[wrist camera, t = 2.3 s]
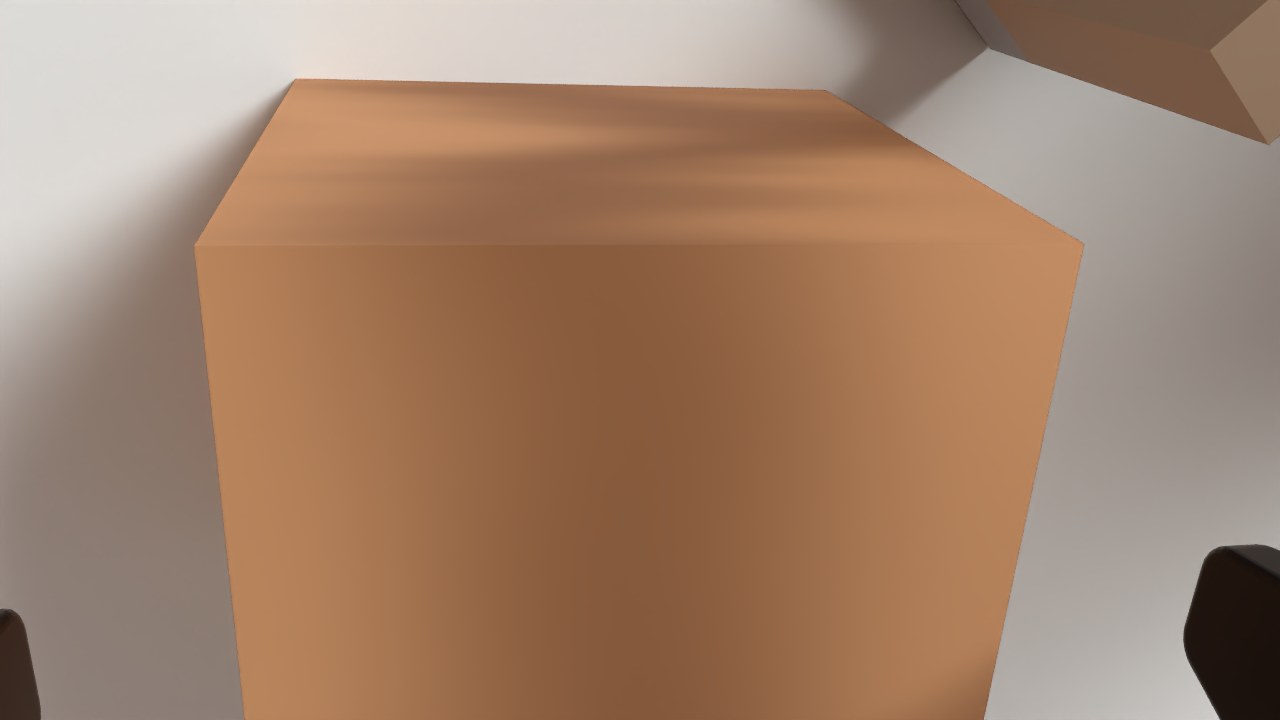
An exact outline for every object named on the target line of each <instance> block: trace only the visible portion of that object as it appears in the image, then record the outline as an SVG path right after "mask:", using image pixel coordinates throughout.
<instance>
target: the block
mask: <svg viewBox="0 0 1280 720" xmlns="http://www.w3.org/2000/svg"><path fill="white" fill-rule="evenodd" d="M1083 247H1084V244H1083V243H1082V242H1080V241H1078V240H1077V239H1075V238H1073V237H1072V236H1070V235H1068V234H1066V233H1065V232H1063V231H1061V230H1060V229H1058V228H1056V227H1055V226H1053V225H1051V224H1050V223H1048V222H1046V221H1045V220H1043V219H1041V218H1040V217H1038V216H1036V215H1035V214H1033V213H1031V212H1029V211H1028V210H1026V209H1024V208H1023V207H1021V206H1019V205H1018V204H1016V203H1014V202H1013V201H1011V200H1009V199H1008V198H1006V197H1004V196H1003V195H1001V194H999V193H997V192H996V191H994V190H992V189H991V188H989V187H987V186H986V185H984V184H982V183H981V182H979V181H977V180H976V179H974V178H972V177H971V176H969V175H967V174H966V173H964V172H962V171H960V170H959V169H957V168H955V167H954V166H952V165H950V164H949V163H947V162H945V161H944V160H942V159H940V158H939V157H937V156H935V155H934V154H932V153H930V152H929V151H927V150H925V149H923V148H922V147H920V146H918V145H917V144H915V143H913V142H912V141H910V140H908V139H907V138H905V137H903V136H902V135H900V134H898V133H897V132H895V131H893V130H892V129H890V128H888V127H886V126H885V125H883V124H881V123H880V122H878V121H876V120H875V119H873V118H871V117H870V116H868V115H866V114H865V113H863V112H861V111H860V110H858V109H856V108H855V107H853V106H851V105H849V104H848V103H846V102H844V101H843V100H841V99H839V98H838V97H836V96H834V95H833V94H831V93H829V92H828V91H826V90H795V89H750V88H704V87H658V86H612V85H566V84H520V83H474V82H429V81H383V80H337V79H295V81H294V83H293V84H292V86H291V87H290V89H289V91H288V92H287V94H286V96H285V97H284V99H283V101H282V102H281V104H280V105H279V107H278V109H277V110H276V112H275V114H274V115H273V117H272V119H271V120H270V122H269V124H268V125H267V127H266V128H265V130H264V132H263V133H262V135H261V137H260V138H259V140H258V142H257V143H256V145H255V147H254V148H253V150H252V151H251V153H250V155H249V156H248V158H247V160H246V161H245V163H244V165H243V166H242V168H241V170H240V171H239V173H238V174H237V176H236V178H235V179H234V181H233V183H232V184H231V186H230V188H229V189H228V191H227V192H226V194H225V196H224V197H223V199H222V201H221V202H220V204H219V206H218V207H217V209H216V211H215V212H214V214H213V215H212V217H211V219H210V220H209V222H208V224H207V225H206V227H205V229H204V230H203V232H202V234H201V235H200V237H199V238H198V240H197V242H196V243H195V245H194V251H195V260H196V269H197V279H198V288H199V297H200V307H201V316H202V325H203V335H204V344H205V353H206V363H207V372H208V381H209V391H210V400H211V409H212V419H213V428H214V437H215V447H216V456H217V465H218V475H219V484H220V493H221V503H222V512H223V521H224V531H225V540H226V550H227V559H228V568H229V578H230V587H231V596H232V606H233V615H234V624H235V634H236V643H237V652H238V662H239V671H240V680H241V690H242V699H243V708H244V718H245V720H984V716H985V711H986V706H987V701H988V697H989V692H990V687H991V682H992V678H993V673H994V668H995V664H996V659H997V654H998V649H999V645H1000V640H1001V635H1002V630H1003V626H1004V621H1005V616H1006V611H1007V607H1008V602H1009V597H1010V593H1011V588H1012V583H1013V578H1014V574H1015V569H1016V564H1017V559H1018V555H1019V550H1020V545H1021V540H1022V536H1023V531H1024V526H1025V522H1026V517H1027V512H1028V507H1029V503H1030V498H1031V493H1032V488H1033V484H1034V479H1035V474H1036V469H1037V465H1038V460H1039V455H1040V451H1041V446H1042V441H1043V436H1044V432H1045V427H1046V422H1047V417H1048V413H1049V408H1050V403H1051V398H1052V394H1053V389H1054V384H1055V380H1056V375H1057V370H1058V365H1059V361H1060V356H1061V351H1062V346H1063V342H1064V337H1065V332H1066V328H1067V323H1068V318H1069V313H1070V309H1071V304H1072V299H1073V294H1074V290H1075V285H1076V280H1077V275H1078V271H1079V266H1080V261H1081V257H1082V252H1083Z"/></svg>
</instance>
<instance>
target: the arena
mask: <svg viewBox="0 0 1280 720" xmlns="http://www.w3.org/2000/svg"><path fill="white" fill-rule="evenodd" d="M955 1H956V3H957V4H958V5H959V7H960V8H961V9H962V11H963V12H964V14H965V15H966V16H967V18H968V19H969V20H970V22H971V23H972V25H973V26H974V27H975V29H976V30H977V32H978V33H979V34H980V36H981V37H982V38H983V40H984V41H985V43H986V44H987V45H988V47H989V48H990V49H992V50H995V51H998V52H1001V53H1004V54H1007V55H1010V56H1013V57H1016V58H1018V59H1021V60H1024V61H1027V62H1030V63H1033V64H1036V65H1039V66H1042V67H1045V68H1047V69H1050V70H1053V71H1056V72H1059V73H1062V74H1065V75H1068V76H1071V77H1074V78H1076V79H1079V80H1082V81H1085V82H1088V83H1091V84H1094V85H1097V86H1100V87H1103V88H1105V89H1108V90H1111V91H1114V92H1117V93H1120V94H1123V95H1126V96H1129V97H1131V98H1134V99H1137V100H1140V101H1143V102H1146V103H1149V104H1152V105H1155V106H1158V107H1160V108H1163V109H1166V110H1169V111H1172V112H1175V113H1178V114H1181V115H1184V116H1187V117H1189V118H1192V119H1195V120H1198V121H1201V122H1204V123H1207V124H1210V125H1213V126H1216V127H1218V128H1221V129H1224V130H1227V131H1230V132H1233V133H1236V134H1239V135H1242V136H1245V137H1247V138H1250V139H1253V140H1256V141H1259V142H1262V143H1265V144H1268V145H1269V144H1270V143H1271V142H1273V141H1274V140H1275V139H1276V138H1277V137H1278V136H1280V0H955Z"/></svg>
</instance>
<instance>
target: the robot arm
mask: <svg viewBox="0 0 1280 720" xmlns="http://www.w3.org/2000/svg"><path fill="white" fill-rule="evenodd" d="M1183 641H1184V648H1185V652H1186V656H1187V659H1188V661H1189V663H1190V665H1191V667H1192V669H1193V671H1194V673H1195V674H1196V676H1197V678H1198V680H1199V682H1200V684H1201V685H1202V687H1203V689H1204V691H1205V693H1206V695H1207V696H1208V698H1209V700H1210V702H1211V704H1212V706H1213V707H1214V709H1215V711H1216V713H1217V715H1218V717H1219V719H1220V720H1280V550H1277V549H1275V548H1272V547H1269V546H1266V545H1258V544H1254V545H1236V546H1221V547H1218V548H1216V549H1214V550H1212V551H1211V552H1210V553H1209V554H1208V555H1207V556H1206V558H1205V559H1204V562H1203V564H1202V567H1201V571H1200V574H1199V578H1198V581H1197V585H1196V588H1195V592H1194V595H1193V599H1192V602H1191V606H1190V609H1189V613H1188V616H1187V620H1186V623H1185V627H1184V635H1183ZM0 720H41V708H40V701H39V696H38V690H37V685H36V680H35V675H34V670H33V665H32V660H31V655H30V650H29V644H28V639H27V634H26V630H25V626H24V623H23V621H22V619H21V618H20V616H19V615H18V614H17V613H16V612H14V611H13V610H11V609H0Z"/></svg>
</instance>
